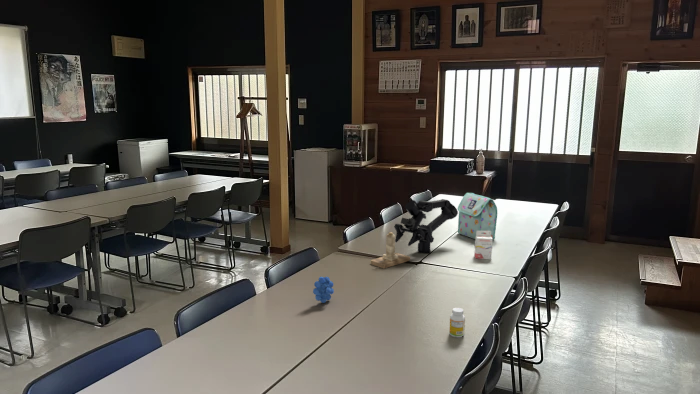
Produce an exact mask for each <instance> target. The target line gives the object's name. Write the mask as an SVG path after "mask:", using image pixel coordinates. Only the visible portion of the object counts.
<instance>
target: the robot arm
mask: <svg viewBox="0 0 700 394" xmlns="http://www.w3.org/2000/svg"><path fill="white" fill-rule="evenodd" d="M404 207H405V210H406V211H407V212H408V214H409V215H410V216H411V218H410V217H409V218H406V217H401V220H400V223H395V224H394V226H393V228H394V229H395V231H396V232H395V233H396V234H395V243H398V242H399V241H400V239H402V237H403V236H404V234H405V233H410V234H412V236H411V238H410V240H409V241H408V244H407V246H408V247H410V246H411V245H413V244H415V243H417V242H418V243H417V251H418V252H417V253H420V254H431V244H432V243H433V242H434V240H435V238H434V236H433V232H434V231H436V230H437V229H438V228H439V227H441V226H442V225H443V224H444V223H445V222H447V221H449V220H452V219H455V218H456V217H457V216H458V215H459V211H458V208H456V206H455V205H454V204H453V203H452V202H450V200H448V199H443V198H442V199H437V200H433V201H432V200H431V201H427V200H418V202H416V200H414V199H411V201H409V202H407V203H406V204H405V206H404ZM435 209H440V210H441V213H440V214H439V215H438V216H437V217H435V218H434V219H433V220H432V221H430V222H429V223H428V224H426V225H425V224H424V223H423V224H421V223H422V221H423V219H425V220H427V216H426V214H427V213H430V212H432V211H433V210H435Z"/></svg>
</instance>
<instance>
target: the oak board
mask: <svg viewBox="0 0 700 394" xmlns="http://www.w3.org/2000/svg"><path fill="white" fill-rule="evenodd" d="M395 255H398V259H396V260H392V261H390V260H387V259H384V258H383V256H380V257H377V258H373V259H371V260H370V265H372V266H375V267H378V268H381V269H388V268H390V267H393V266H397V265H400V264H403V263H406V262H409V260H410V261H411V256H409V255H406V254H403V253H402V254H401V253H398V252H395Z"/></svg>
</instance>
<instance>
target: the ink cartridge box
mask: <svg viewBox="0 0 700 394" xmlns="http://www.w3.org/2000/svg"><path fill="white" fill-rule="evenodd" d="M483 232H484V233H486V234H481V233H483ZM493 240H494V239H492V237H491V231H476V238H475V239H474V255H473V256H474V258H475V259H478V260H492V253H493Z"/></svg>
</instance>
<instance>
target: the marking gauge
mask: <svg viewBox="0 0 700 394" xmlns="http://www.w3.org/2000/svg"><path fill="white" fill-rule="evenodd" d="M385 236H386V239H385V253H384V254H382V257H383V258H384V259H387V260H390V261H392V260H396V259H398V255H395V253H396V252H395V251H396V248H395V246H396V242H395V239H396V234H394V233H393V232H388V234H386V235H385Z"/></svg>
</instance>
